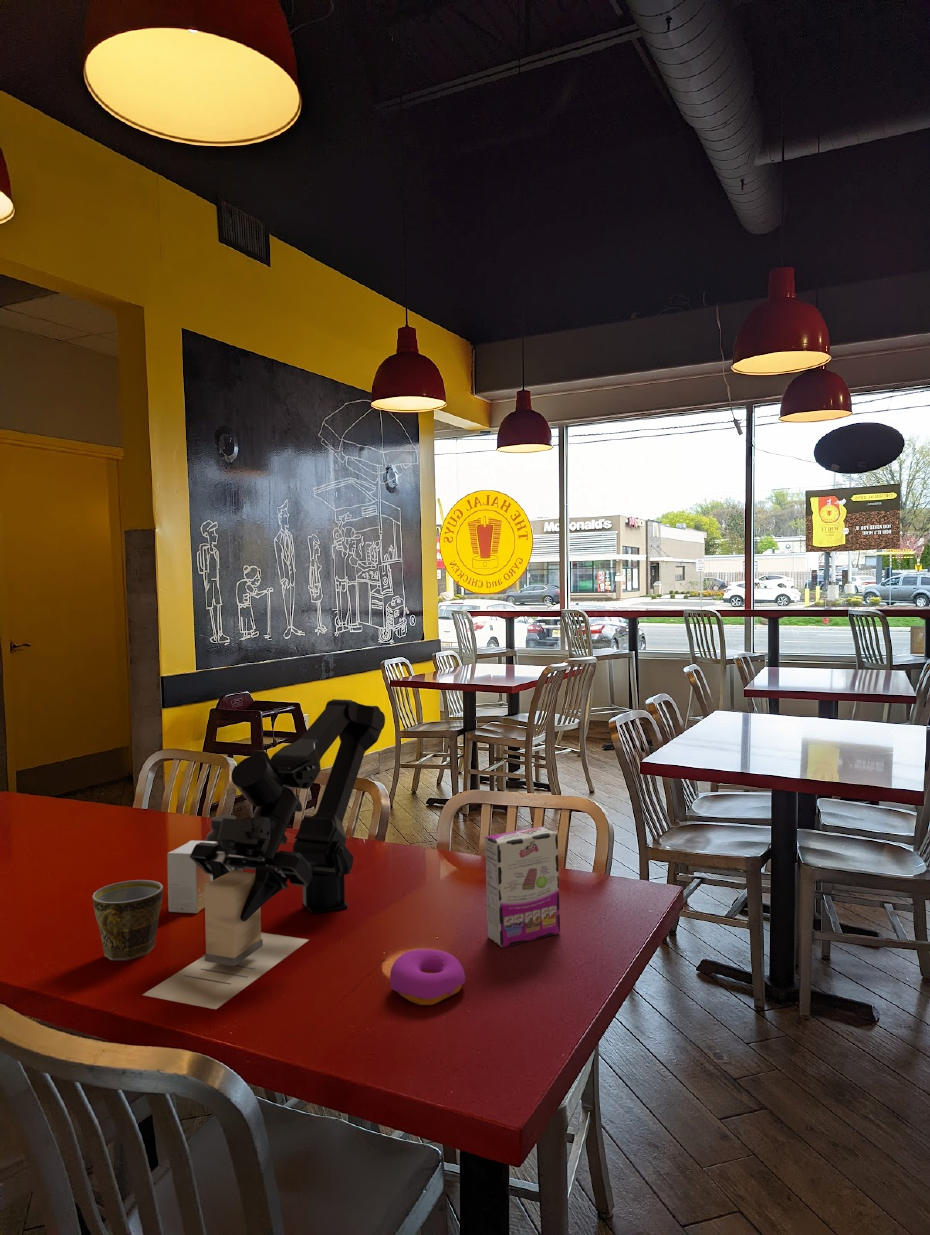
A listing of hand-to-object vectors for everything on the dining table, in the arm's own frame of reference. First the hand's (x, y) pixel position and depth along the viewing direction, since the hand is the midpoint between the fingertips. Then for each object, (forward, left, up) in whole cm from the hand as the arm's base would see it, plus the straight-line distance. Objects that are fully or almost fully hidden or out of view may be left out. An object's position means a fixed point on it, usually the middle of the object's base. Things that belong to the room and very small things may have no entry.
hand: (227, 917), depth 118 cm
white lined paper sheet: (-1, -1, -8) cm, 8 cm away
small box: (+1, -31, -8) cm, 32 cm away
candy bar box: (-45, +7, -8) cm, 46 cm away
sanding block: (-1, -1, -6) cm, 6 cm away
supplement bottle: (-6, -43, -8) cm, 44 cm away
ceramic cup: (+13, -12, -8) cm, 20 cm away
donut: (-24, +18, -8) cm, 31 cm away
